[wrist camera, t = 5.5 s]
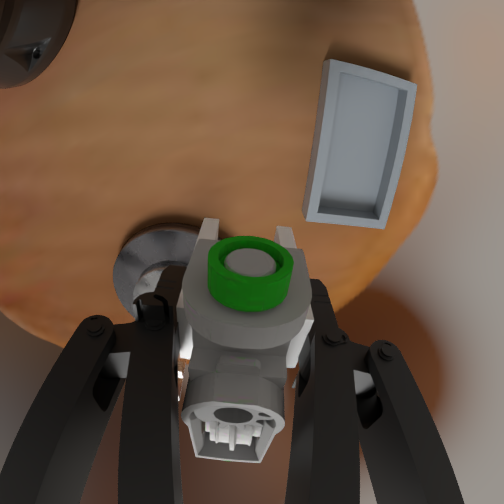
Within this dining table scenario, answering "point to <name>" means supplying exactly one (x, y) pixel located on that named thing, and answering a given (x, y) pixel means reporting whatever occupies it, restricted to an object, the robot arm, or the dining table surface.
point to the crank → (148, 284)
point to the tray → (357, 145)
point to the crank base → (151, 255)
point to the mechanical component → (240, 342)
